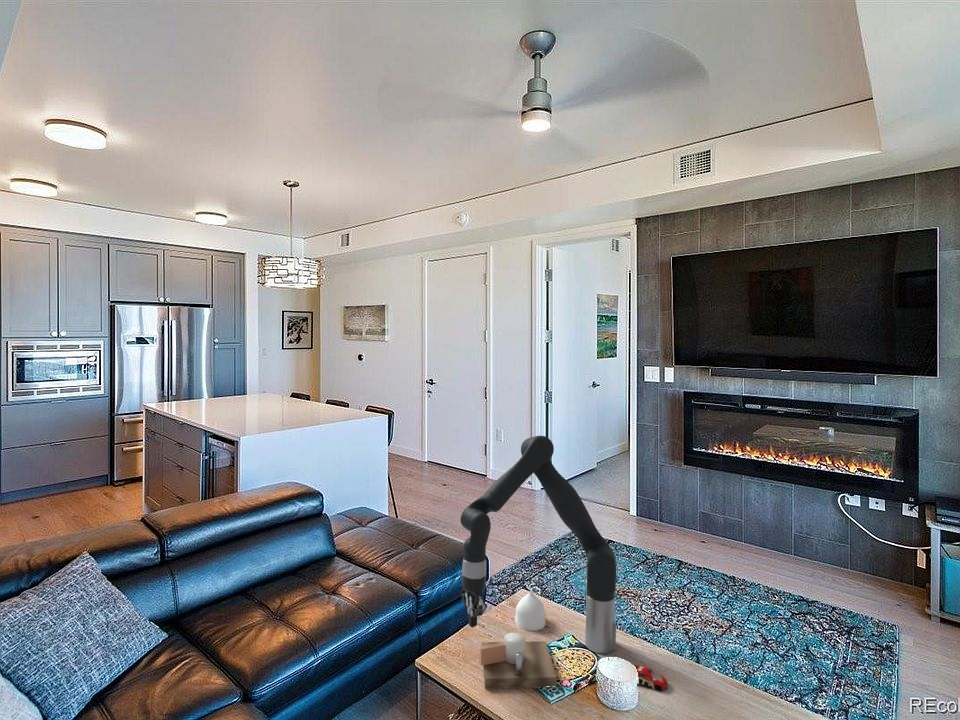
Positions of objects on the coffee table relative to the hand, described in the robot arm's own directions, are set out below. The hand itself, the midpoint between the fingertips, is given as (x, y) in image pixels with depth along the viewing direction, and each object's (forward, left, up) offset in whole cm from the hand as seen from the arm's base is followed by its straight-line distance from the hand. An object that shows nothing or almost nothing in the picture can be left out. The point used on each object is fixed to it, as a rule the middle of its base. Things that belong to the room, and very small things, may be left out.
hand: (472, 625), depth 162 cm
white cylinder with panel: (-9, +6, -7) cm, 13 cm away
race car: (-51, +12, -11) cm, 54 cm away
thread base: (-14, +5, -11) cm, 18 cm away
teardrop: (-22, -21, -11) cm, 32 cm away
